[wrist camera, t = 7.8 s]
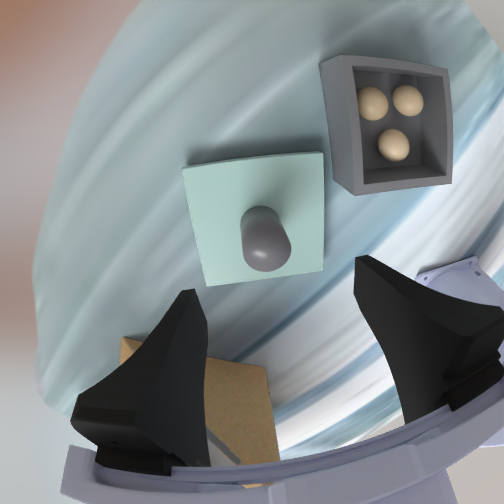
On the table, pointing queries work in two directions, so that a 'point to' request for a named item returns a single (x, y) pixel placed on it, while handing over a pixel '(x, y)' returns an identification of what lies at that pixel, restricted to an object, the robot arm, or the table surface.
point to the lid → (257, 216)
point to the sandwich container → (233, 412)
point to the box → (387, 123)
